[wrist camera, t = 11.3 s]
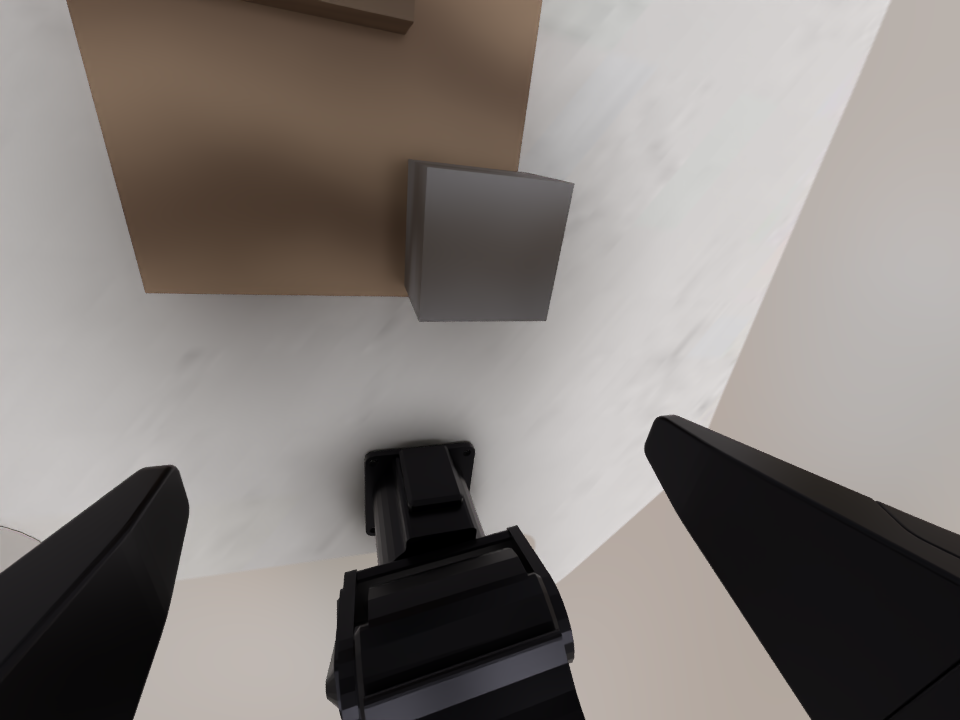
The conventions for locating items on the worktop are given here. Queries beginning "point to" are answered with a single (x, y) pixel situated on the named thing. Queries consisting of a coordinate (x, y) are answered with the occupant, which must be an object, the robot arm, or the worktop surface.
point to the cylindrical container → (14, 546)
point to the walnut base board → (328, 149)
